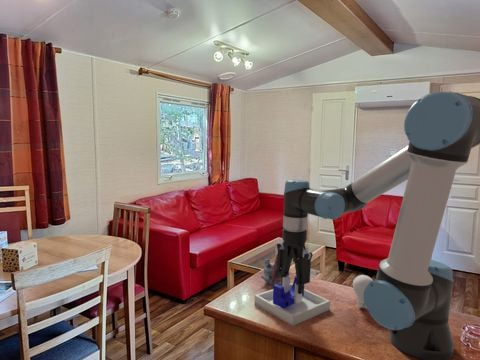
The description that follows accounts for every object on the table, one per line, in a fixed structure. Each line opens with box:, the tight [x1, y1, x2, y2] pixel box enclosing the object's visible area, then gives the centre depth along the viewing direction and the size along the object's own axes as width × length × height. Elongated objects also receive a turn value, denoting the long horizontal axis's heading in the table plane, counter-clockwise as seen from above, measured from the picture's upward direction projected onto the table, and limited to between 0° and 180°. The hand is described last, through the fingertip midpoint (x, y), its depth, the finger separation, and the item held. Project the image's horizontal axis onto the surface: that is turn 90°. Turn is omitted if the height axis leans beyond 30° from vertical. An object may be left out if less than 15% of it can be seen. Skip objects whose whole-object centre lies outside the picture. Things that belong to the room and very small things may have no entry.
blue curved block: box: [272, 275, 304, 309], centre depth 113 cm, size 12×4×6 cm, turn 133°
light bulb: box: [352, 274, 374, 309], centre depth 114 cm, size 7×7×11 cm
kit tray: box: [254, 282, 331, 327], centre depth 114 cm, size 17×17×3 cm
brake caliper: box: [260, 254, 290, 286], centre depth 134 cm, size 11×11×12 cm
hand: (291, 298), depth 114 cm, fingers closed on blue curved block, 5 cm apart
